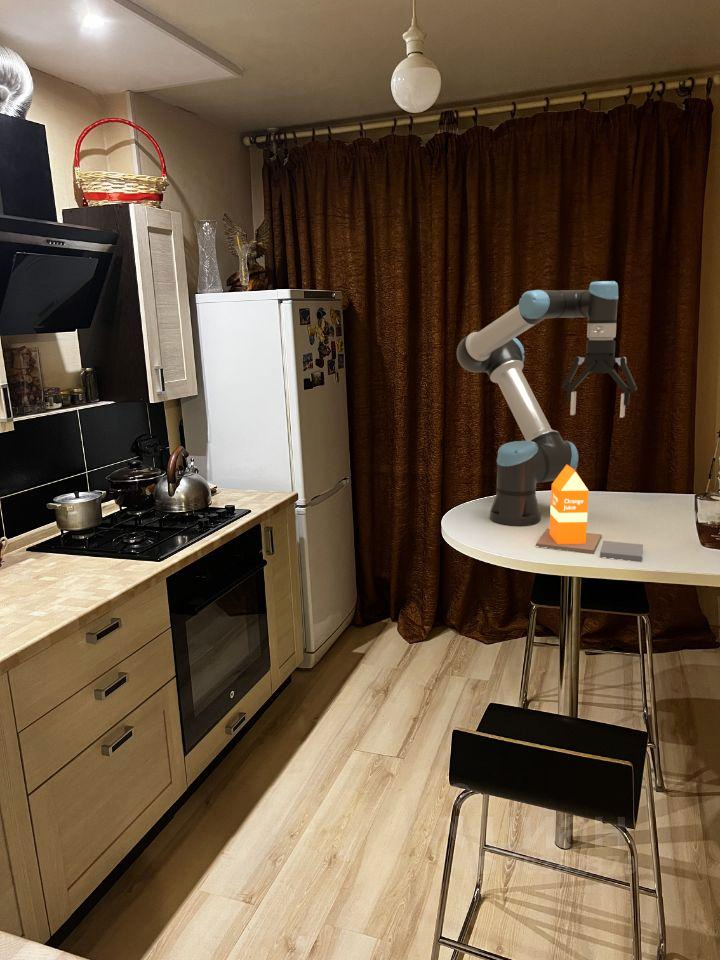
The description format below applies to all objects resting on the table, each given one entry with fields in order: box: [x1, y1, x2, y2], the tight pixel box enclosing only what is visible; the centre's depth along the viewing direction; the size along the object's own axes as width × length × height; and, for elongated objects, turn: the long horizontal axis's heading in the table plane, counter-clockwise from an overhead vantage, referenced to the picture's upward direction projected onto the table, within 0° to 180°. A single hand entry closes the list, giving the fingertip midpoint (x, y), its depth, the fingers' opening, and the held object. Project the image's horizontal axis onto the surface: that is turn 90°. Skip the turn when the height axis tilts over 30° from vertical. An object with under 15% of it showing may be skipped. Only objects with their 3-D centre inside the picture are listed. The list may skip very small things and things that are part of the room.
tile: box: [599, 540, 644, 563], centre depth 190 cm, size 10×2×10 cm
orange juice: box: [549, 465, 589, 544], centre depth 197 cm, size 8×9×20 cm
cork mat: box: [535, 528, 603, 555], centre depth 200 cm, size 15×15×1 cm
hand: (597, 415), depth 206 cm, fingers open, 13 cm apart
